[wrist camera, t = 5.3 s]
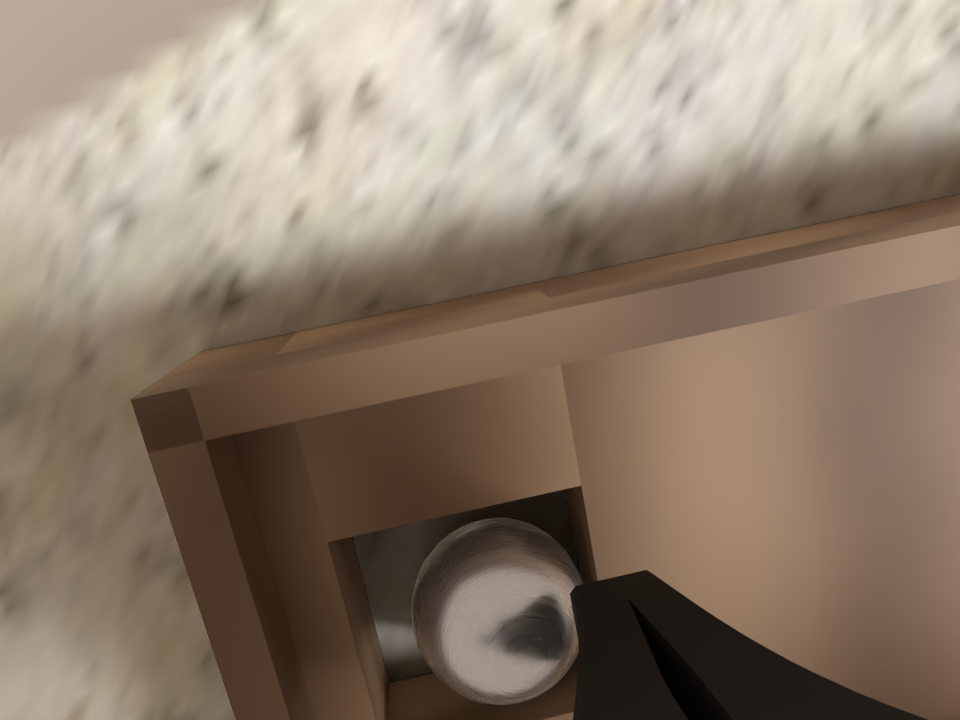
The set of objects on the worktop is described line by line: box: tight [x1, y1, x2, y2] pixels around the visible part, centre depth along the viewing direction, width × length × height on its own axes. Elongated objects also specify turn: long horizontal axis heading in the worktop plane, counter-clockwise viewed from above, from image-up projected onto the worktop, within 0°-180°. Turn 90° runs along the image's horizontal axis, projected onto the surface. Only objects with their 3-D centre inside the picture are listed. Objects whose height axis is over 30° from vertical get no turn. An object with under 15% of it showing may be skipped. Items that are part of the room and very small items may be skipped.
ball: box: [411, 518, 583, 705], centre depth 13 cm, size 3×3×3 cm
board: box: [131, 194, 960, 720], centre depth 13 cm, size 18×11×3 cm, turn 101°
